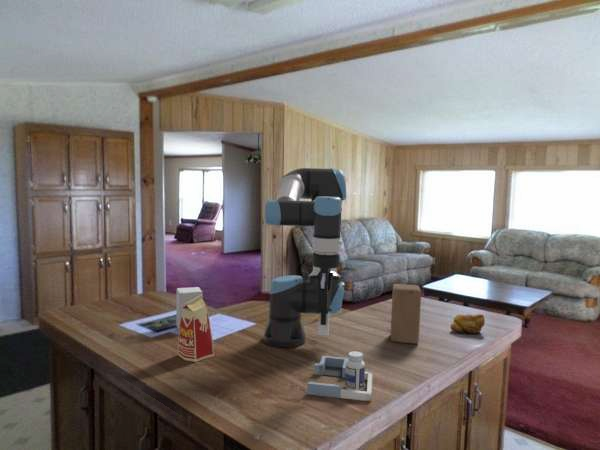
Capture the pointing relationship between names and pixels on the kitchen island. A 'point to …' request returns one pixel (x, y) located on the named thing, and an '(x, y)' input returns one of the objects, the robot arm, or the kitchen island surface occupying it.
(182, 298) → the supplement box
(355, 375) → the pill bottle
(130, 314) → the kitchen island surface
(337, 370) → the pit
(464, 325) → the bread roll
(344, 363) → the blue-grey open frame
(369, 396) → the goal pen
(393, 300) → the wooden block
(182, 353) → the milk carton
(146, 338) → the kitchen island surface
